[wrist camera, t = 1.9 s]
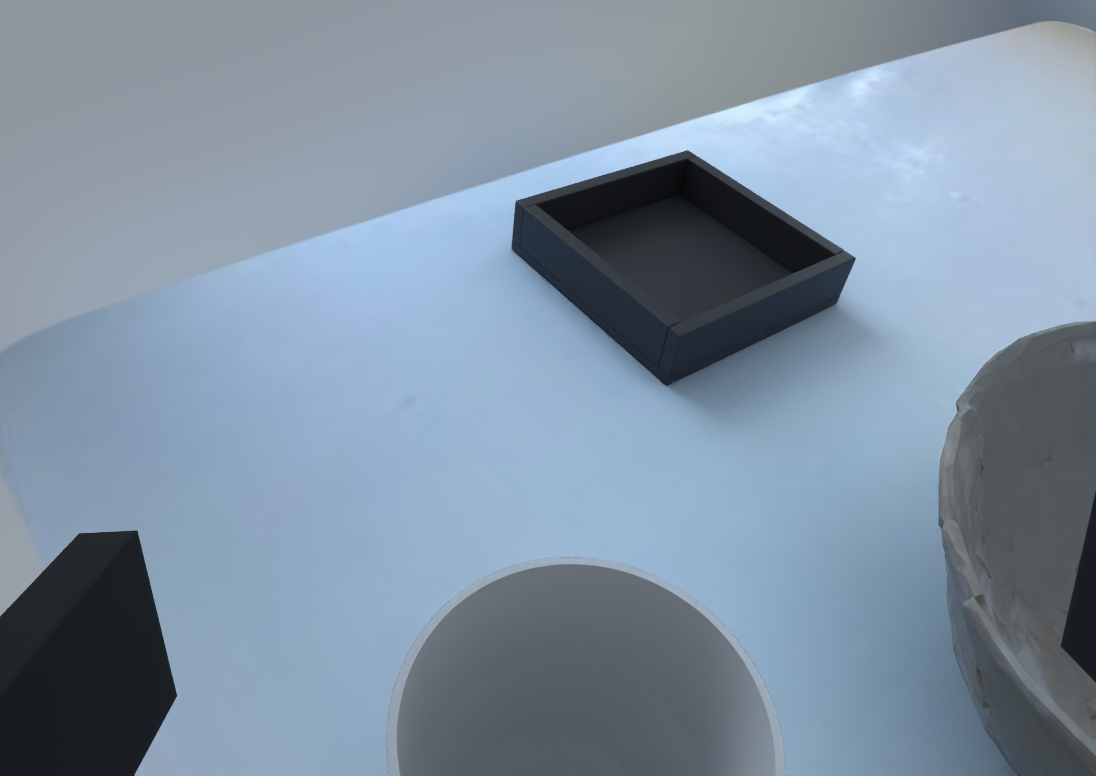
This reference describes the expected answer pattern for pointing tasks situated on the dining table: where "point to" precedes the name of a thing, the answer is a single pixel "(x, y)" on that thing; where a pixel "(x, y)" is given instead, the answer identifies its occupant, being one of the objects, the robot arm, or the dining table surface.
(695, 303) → the shallow square tray
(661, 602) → the cup
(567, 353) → the dining table surface
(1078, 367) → the ceramic bowl
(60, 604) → the robot arm
